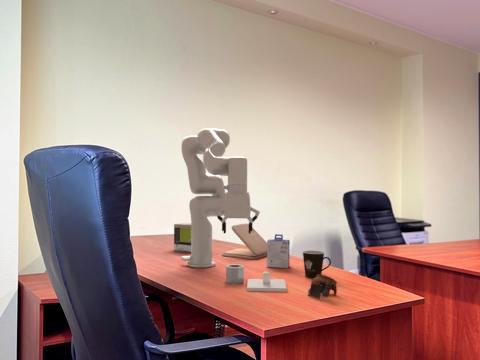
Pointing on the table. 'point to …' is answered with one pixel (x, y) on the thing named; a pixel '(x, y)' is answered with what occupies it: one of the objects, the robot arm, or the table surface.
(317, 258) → the coffee mug
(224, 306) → the table surface
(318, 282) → the brown animal figurine
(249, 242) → the case
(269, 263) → the ink cartridge box
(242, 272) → the collar
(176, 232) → the tea box
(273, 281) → the flange plate
